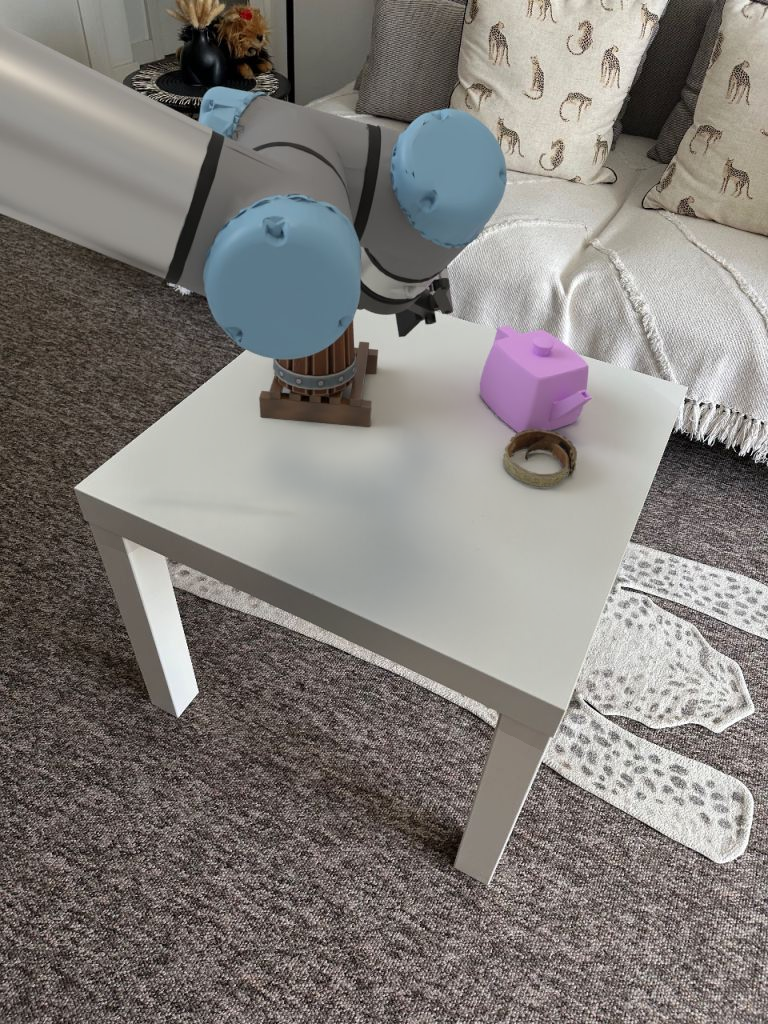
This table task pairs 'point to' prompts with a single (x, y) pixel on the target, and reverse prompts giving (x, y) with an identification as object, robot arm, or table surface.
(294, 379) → the mug
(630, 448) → the table surface
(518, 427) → the teapot
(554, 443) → the bracelet
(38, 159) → the robot arm
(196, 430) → the table surface
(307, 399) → the drying rack
